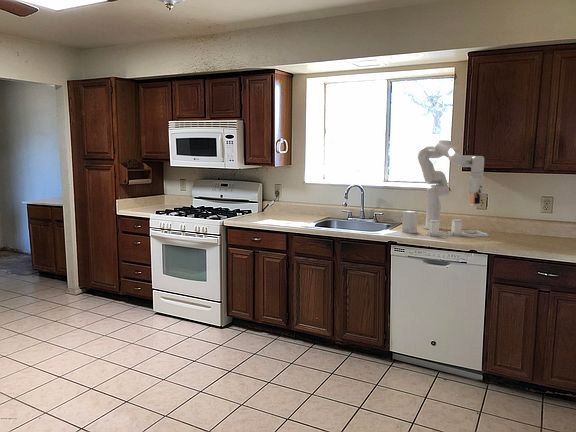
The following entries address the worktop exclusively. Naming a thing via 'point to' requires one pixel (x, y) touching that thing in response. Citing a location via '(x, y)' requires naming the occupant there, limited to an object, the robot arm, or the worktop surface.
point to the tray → (474, 234)
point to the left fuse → (434, 227)
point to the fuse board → (450, 234)
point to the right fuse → (456, 227)
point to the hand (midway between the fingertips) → (475, 202)
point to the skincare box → (409, 222)
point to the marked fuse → (473, 199)
